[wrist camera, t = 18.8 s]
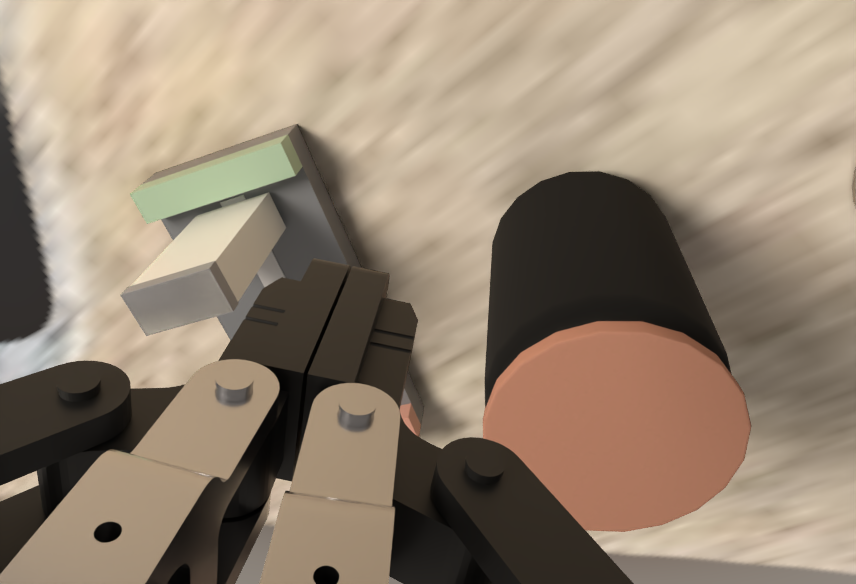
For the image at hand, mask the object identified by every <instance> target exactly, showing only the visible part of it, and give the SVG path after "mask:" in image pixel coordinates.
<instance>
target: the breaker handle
mask: <svg viewBox="0 0 856 584" xmlns="http://www.w3.org/2000/svg"><path fill="white" fill-rule="evenodd" d="M285 229H286V226H285V224H284V222H283V220H282V218H281V216H280V214H279V212H278V210H277V208H276V206H275V204H274V202H273V200H272V198H271V196H270V194H269V192H268V193H265V194H262V195H259V196H256V197H253V198H250V199H246V200H243V201H240V202H237V203H234V204H231V205H228V206H225V207H222V208H219V209H215V210H212V211H209V212H206V213H203V214H200V215H197V216H196V217H195V218H194V219H193V220H192V221H191V222H190V223H189V224H188V225H187V226H186V227H185V228H184V230H183V231H182V232H181V233H180V234H179V235H178V236H177V237H176V238H175V239H174V240H173V241H172V242H171V243H170V244H169V246H168V247H167V248H166V249H165V250H164V251H163V252H162V253H161V254H160V255H159V256H158V257H157V258H156V259H155V261H154V262H153V263H152V264H151V265H150V266H149V267H148V268H147V269H146V270H145V271H144V272H143V273H142V274H141V275H140V277H139V278H138V279H137V280H136V281H135V282H134V283H133V284H132V285H131V286H129V287H127V288H126V289H125V290H124V292H123V293H122V294H121V297H122V298H123V300H124V302H125V303H126V305H127V306H128V308H129V309H130V311H131V313H132V314H133V316H134V317H135V319H136V320H137V322H138V324H139V325H140V327H141V328H142V330H143V331H144V333H145V335H146V336H148V335H151V334H155V333H158V332H162V331H166V330H169V329H173V328H176V327H180V326H184V325H187V324H191V323H195V322H198V321H202V320H205V319H209V318H213V317H216V316H220V315H223V314H227V313H231V312H234V310H235V309H236V307H237V305H238V304H239V303H238V301H239V300H240V298H241V297H242V295H243V294H244V292H245V290H246V289H247V287H248V286H249V284H250V283H251V281H252V280H253V278H254V277H255V275H256V274H257V272H258V270H259V269H260V267H261V266H262V264H263V263H264V261H265V260H266V258H267V257H268V255H269V253H270V252H271V250H272V249H273V247H274V246H275V244H276V243H277V241H278V240H279V238H280V237H281V235H282V233H283V232H284V230H285Z"/></svg>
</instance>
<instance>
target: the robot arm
mask: <svg viewBox="0 0 856 584" xmlns="http://www.w3.org/2000/svg"><path fill="white" fill-rule="evenodd" d="M852 191H853V201H854V204H855V207H856V167H855V170H854V177H853V183H852ZM388 284H389V273H384V272H379V271H374V270H369V269H364V268H359V267H354V266H353V267H352V269H351V266H350V265H345V264H340V263H335V262H330V261H325V260H320V259H315V258H313V260H312V261H311V263H310V265H309V267H308V269H307V271H306V272H305V274H304V276H303V278H302V280H301V281H298V280H293V279H288V278H283V277H281V278H279V279H278V280H276V281H274V282H273V283H271V284H269V285H268V286H266V287H264V288H263V289H262V290H261V292H260V294H259V295H258V297H257V299H256V300H255V302H254V304H253V307H251V308H250V310H249V312H248V313H247V315H246V318H245V319H244V320H243V321H242V323H241V325H240V326H239V328H238V330H237V331H236V333H235V335H234V336H233V338H232V339H231V341H230V343H229V344H228V346H227V348H226V349H225V351H224V352H223V354H222V356H221V357H220V359H219V361H217V362H213V363H210V364H208V365H206V366H204V367H202V368H200V369H199V370H198V371H196V372H195V373H194V374H193V375H192V377H191V378H190V379H189V380H188V382H187V383H186V384H185V385H181V386H176V387H170V388H142V389H130V381H129V378H128V376H127V375H126V374H125V373H124V372H123V371H122V370H121V369H119V368H117V367H116V366H113V365H111V364H108V363H104V362H98V361H76V362H70V363H65V364H62V365H58V366H55V367H52V368H49V369H46V370H43V371H40V372H37V373H34V374H31V375H28V376H24V377H21V378H18V379H15V380H12V381H9V382H6V383H3V384H0V485H3V484H5V483H8V482H10V481H13V480H15V479H17V478H20V477H22V476H25V475H27V474H29V473H32V472H34V471H37V475H38V482H39V485H38V486H36V487H34V488H31V489H29V490H27V491H24V492H22V493H20V494H17V495H15V496H13V497H10V498H8V499H6V500H3V501H1V502H0V584H235V583H236V581H237V579H238V577H239V575H240V573H241V571H242V569H243V567H244V565H245V563H246V560H247V559H248V557H249V554H250V552H251V550H252V548H253V546H254V544H255V542H256V540H257V538H258V536H259V534H260V532H261V530H262V528H263V526H264V524H265V522H266V520H267V517H268V515H269V509H270V497H271V489H272V487H273V484H274V482H275V479H276V478H278V479H283V480H288V481H292V484H291V487H290V491H285V493H284V496H283V499H282V502H281V505H280V509H279V513H278V516H277V520H276V524H275V528H274V531H273V535H272V539H271V542H270V546H269V550H268V554H267V557H266V561H265V565H264V569H263V572H262V576H261V580H260V583H259V584H388V583H389V576H390V577H392V578H394V579H396V580H397V581H399V582H401V583H403V584H633V583H632V582H631V580H630V579H629V578H628V577H627V576H626V575H625V574H624V573H623V572H622V570H620V568H619V567H618V566H617V565H616V564H615V563H614V562H613V561H612V559H610V557H609V556H608V555H607V554H606V553H605V552H604V551H603V549H602V548H601V547H600V546H599V545H598V544H597V543H596V542H595V541H594V540H593V538H592V537H591V536H590V535H589V534H588V533H587V532H586V531H585V530H584V528H583V527H582V526H581V525H580V524H579V523H578V522H577V521H576V520H575V519H574V517H573V516H572V515H571V514H570V513H569V512H568V511H567V510H566V509H565V508H564V506H563V505H562V504H561V503H560V502H559V501H558V500H557V499H556V498H555V497H554V495H553V494H552V493H551V492H550V491H549V490H548V489H547V488H546V487H545V485H544V484H543V483H542V482H541V481H540V480H539V479H538V478H537V477H536V476H535V474H534V473H533V472H532V471H531V470H530V469H529V468H528V467H527V466H526V465H525V463H524V462H523V461H522V460H521V459H520V458H519V457H518V456H517V455H516V454H515V453H514V452H513V451H511V450H510V449H508V448H507V447H505V446H503V445H501V444H499V443H497V442H494V441H491V440H488V439H483V438H472V437H471V438H462V439H458V440H455V441H453V442H451V443H449V444H448V445H446V446H445V447H444V448H443V449H440V448H438V447H436V446H434V445H432V444H430V443H428V442H426V441H424V440H422V439H421V438H420V437H418V436H417V435H415V434H414V433H413V432H412V431H411V430H410V429H409V428H408V427H407V425H406V424H405V423H404V421H403V419H402V417H401V414H400V406H401V401H402V397H403V392H404V388H405V383H406V378H407V373H408V368H409V363H410V358H411V353H412V348H413V343H414V338H415V332H416V327H417V322H418V319H417V317H416V315H415V313H414V310H413V308H412V306H411V304H410V303H405V302H400V301H395V300H390V299H386V296H387V290H388Z"/></svg>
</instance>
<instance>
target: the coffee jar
mask: <svg viewBox="0 0 856 584" xmlns="http://www.w3.org/2000/svg"><path fill="white" fill-rule="evenodd" d="M750 430H751V422H750V418H749V414H748V409H747V405H746V400H745V396H744V392H743V391H742V389H741V388H740V386H739V384H738V383H737V381H736V380H735V379H734V377H733V376H732V374H731V370H730V366H729V361H728V357H727V353H726V351H725V349H724V346H723V344H722V342H721V340H720V338H719V335H718V333H717V331H716V329H715V326H714V324H713V322H712V320H711V317H710V315H709V313H708V311H707V309H706V306H705V304H704V302H703V300H702V297H701V295H700V293H699V291H698V288H697V286H696V284H695V282H694V280H693V277H692V275H691V273H690V271H689V268H688V266H687V264H686V262H685V259H684V257H683V255H682V253H681V251H680V248H679V246H678V244H677V242H676V239H675V237H674V235H673V233H672V230H671V228H670V226H669V224H668V222H667V219H666V217H665V216H664V214H663V213H662V211H661V210H660V208H659V207H658V206H657V204H656V203H655V201H654V200H653V199H652V197H651V196H650V195H649V194H648V193H646V192H645V191H643V190H642V189H640V188H639V187H637V186H636V185H634V184H633V183H632V182H630V181H629V180H627V179H624V178H620V177H617V176H613V175H610V174H606V173H603V172H568V173H565V174H562V175H559V176H556V177H553V178H549V179H546V180H543V181H541V182H539V183H538V184H536V185H535V186H533V187H532V188H530V189H529V190H528V191H526V192H525V193H523V194H522V195H520V196H519V197H517V199H516V200H515V201H514V203H513V204H512V205H511V206H510V208H509V209H508V210H507V212H506V213H505V214H504V215H503V217H502V218H501V220H500V223H499V226H498V229H497V231H496V234H495V237H494V240H493V244H492V262H491V279H490V297H489V315H488V332H487V350H486V367H485V411H484V417H483V439H488V440H491V441H494V442H497V443H499V444H501V445H503V446H505V447H507V448H508V449H510V450H511V451H513V452H514V453H515V454H516V455H517V456H518V457H519V458H520V459H521V460H522V461H523V462H524V463H525V465H526V466H527V467H528V468H529V469H530V470H531V471H532V472H533V473H534V474H535V476H536V477H537V478H538V479H539V480H540V481H541V482H542V483H543V484H544V485H545V487H546V488H547V489H548V490H549V491H550V492H551V493H552V494H553V495H554V497H555V498H556V499H557V500H558V501H559V502H560V503H561V504H562V505H563V506H564V508H565V509H566V510H567V511H568V512H569V513H570V514H571V515H572V516H573V517H574V519H575V520H576V521H577V522H578V523H579V524H580V525H581V526H582V527H583V528H584V530H593V531H619V532H625V531H631V530H636V529H642V528H648V527H653V526H659V525H663V524H665V523H668V522H670V521H672V520H675V519H677V518H679V517H682V516H684V515H686V514H689V513H691V512H693V511H696V510H697V509H699V508H700V507H701V506H703V505H704V504H705V503H706V502H708V501H709V500H710V499H711V498H713V497H714V496H715V495H717V494H718V493H719V492H720V491H722V490H723V489H724V488H725V487H726V486H727V484H728V483H729V481H730V480H731V478H732V477H733V475H734V474H735V472H736V471H737V469H738V468H739V466H740V465H741V464H742V462H743V461H744V458H745V454H746V449H747V444H748V439H749V435H750Z"/></svg>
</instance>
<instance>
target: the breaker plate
mask: <svg viewBox="0 0 856 584" xmlns="http://www.w3.org/2000/svg"><path fill="white" fill-rule="evenodd" d="M268 192H269V194H270V196H271V198H272V200H273V202H274V204H275V206H276V208H277V210H278V212H279V214H280V216H281V218H282V220H283V222H284V224H285V226H286V229H285V230H284V232H283V233H282V235H281V237H280V238H279V240H278V241H277V243H276V244H275V246H274V247H273V249H272V250H271V252H270V253H269V255H268V257H267V258H266V260H265V261H264V263H263V264H262V266H261V267H260V269H259V270H258V272H257V274H256V275H255V277H254V278H253V280H252V281H251V283H250V284H249V286H248V287H247V289H246V290H245V292H244V294H243V295H242V297H241V298H240V300H239V301H238V303H239V304H238V305H237V307H236V309H235V310H234V312H231V313H227V314H223V315H220V316H217V318H218V319H219V321H220V323H221V325H222V326H223V328H224V330H225V332H226V333H227V335H228V337H229V339H230V340H231V339H232V338H233V336H234V335H235V333H236V331H237V330H238V328H239V326H240V325H241V323H242V321H243V320H244V319H245V318H246V315H247V313H248V312H249V310H250V308H251V307H253V304H254V302H255V300H256V299H257V297H258V295H259V294H260V292H261V290H262V289H263V288H264V287H266V286H268V285H269V284H271V283H273V282H274V281H276V280H278V279H279V278H281V277H283V278H288V279H293V280H298V281H301V280H302V278H303V276H304V274H305V272H306V271H307V269H308V267H309V265H310V263H311V261H312V260H313V258H315V259H320V260H325V261H330V262H335V263H340V264H345V265H350V266H351V269H352V267H353V266H354V267H359V268H361V265H360V263H359V261H358V259H357V256H356V254H355V252H354V250H353V248H352V245H351V243H350V241H349V239H348V236H347V234H346V232H345V230H344V228H343V225H342V223H341V221H340V219H339V216H338V214H337V212H336V210H335V208H334V205H333V203H332V201H331V199H330V196H329V194H328V192H327V190H326V187H325V185H324V183H323V181H322V179H321V176H320V174H319V172H318V170H317V167H316V165H315V163H314V161H313V159H312V156H311V154H310V152H309V150H308V147H307V145H306V143H305V141H304V138H303V136H302V134H301V132H300V130H299V127H298V125H297V124H296V125H293V126H290V127H287V128H284V129H281V130H278V131H275V132H272V133H269V134H267V135H264V136H261V137H258V138H255V139H252V140H249V141H246V142H243V143H241V144H238V145H235V146H232V147H229V148H226V149H223V150H220V151H217V152H214V153H212V154H209V155H206V156H203V157H200V158H197V159H194V160H191V161H188V162H186V163H183V164H180V165H177V166H174V167H171V168H168V169H165V170H162V171H159V172H157V173H155V174H153V175H152V176H151V177H150V178H149V179H147V180H146V181H145V182H144V183H143V184H141V185H140V186H139V187H138V188H136V189H135V190H134V191H133V192H132V193H130V195H131V197H132V199H133V201H134V202H135V204H136V206H137V207H138V209H139V211H140V213H141V214H142V216H143V218H144V219H145V221H146V223H147V224H148V223H152V222H155V221H158V220H162V222H163V224H164V225H165V227H166V229H167V231H168V232H169V234H170V236H171V238H172V239H173V240H174V239H175V238H176V237H177V236H178V235H179V234H180V233H181V232H182V231H183V230H184V228H185V227H186V226H187V225H188V224H189V223H190V222H191V221H192V220H193V219H194V218H195V217H196V216H197V215H200V214H203V213H206V212H209V211H212V210H215V209H219V208H222V207H225V206H228V205H231V204H234V203H237V202H240V201H243V200H246V199H250V198H253V197H256V196H259V195H262V194H265V193H268ZM423 410H424V406H423V403H422V401H421V399H420V397H419V395H418V392H417V390H416V388H415V386H414V383H413V381H412V379H411V377H410V374H409V372H408V373H407V378H406V383H405V388H404V392H403V397H402V401H401V406H400V414H401V417H402V419H403V421H404V423H405V424H406V425H407V427H408V428H409V429H410V430H411V431H412V432H413V433H414V434H415V435H417V436H418V437H419V434H420V428H421V422H422V416H423Z"/></svg>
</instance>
